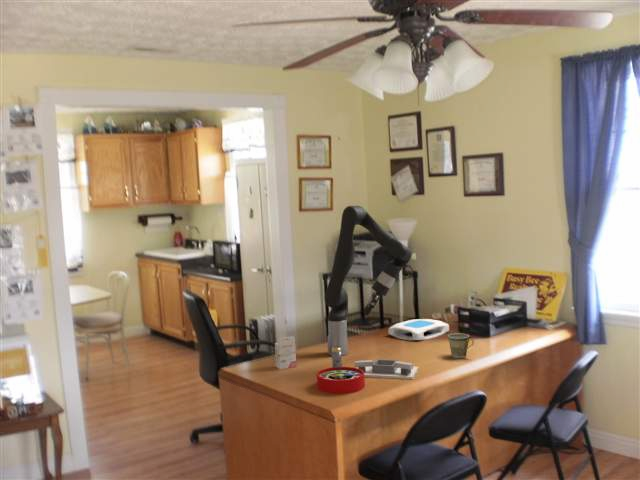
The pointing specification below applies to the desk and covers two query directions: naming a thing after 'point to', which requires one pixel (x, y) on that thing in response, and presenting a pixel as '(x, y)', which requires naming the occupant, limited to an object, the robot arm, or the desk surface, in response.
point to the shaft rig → (387, 369)
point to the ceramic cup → (459, 344)
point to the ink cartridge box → (285, 353)
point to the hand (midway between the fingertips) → (365, 313)
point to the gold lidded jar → (336, 357)
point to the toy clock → (340, 380)
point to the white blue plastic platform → (418, 329)
